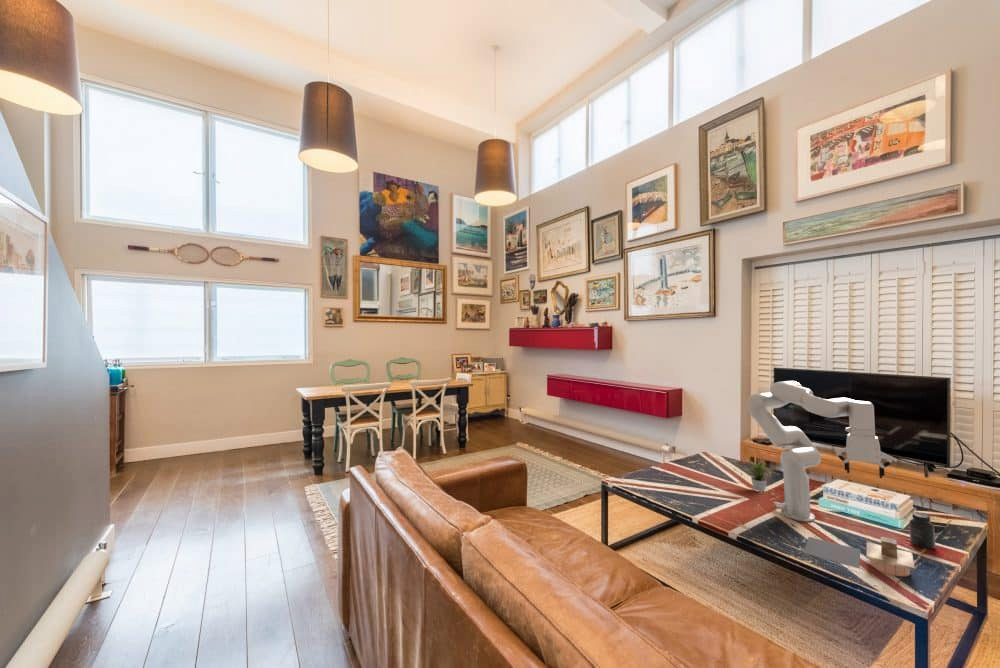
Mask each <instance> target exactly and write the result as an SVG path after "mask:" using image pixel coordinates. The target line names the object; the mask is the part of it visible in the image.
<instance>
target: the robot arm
mask: <svg viewBox="0 0 1000 668" xmlns="http://www.w3.org/2000/svg"><path fill="white" fill-rule="evenodd" d="M746 401H747V402H746V408H747V411H748V413H749V414H750V416H751V417H752V418H753V419H754V420H755V422H756V423H757V424H758V426H759V427H760V429H761V430H762V431H763V432H764V434H765V436H766V437H767V438H768V439H769V441H770V442H771V443H772V445H773V446H775V447H777V448H786V449H784V450H783V451H782V452H781V453H780V464H781V466H782V467H781V468H782V473H783V475H782V476H783V487H784V489H783V490H784V502H781V503H780V502H779V501H778V502H777V501H774V502H773V506H774V507H776V509H781V511H780V512H782V513H781V514H782V515H783V516H784V515H785V516H786V518H787V517H788V519H790V518H791V519H790V520H793V519H794V520H793V521H798V522H802V523H803V522H806V523H807V522H813V521H815V520H816V516H815V514H814V513H813V512H811V497H810V479H809V476H808V473H807V472H806V469H807V468H813V467H816V466H818V465H820V463H821V462H822V458H821V457H822V456H821V454H820V451H819V450H818V449H817V447H816V446H815V445H814V444H813V443H812V441H811V440H810V438H809V437H808V436H807V435H806V434H805V433H804V431H803V430H801V428H798V426H793V425H785V426H784V425H783V424H782V423H781V422H780V420H779V419H778V418H777V417H776V416H775V415H774V414H773V413H771V412H770V411H768V410H772V409H778V408H779V409H780V408H782V407H785V406H786V405H788V404H789V403H791V404H794V405H797V406H801V407H802V408H803V409H805V410H806V411H807V412H810V413H812V414H815V415H818V416H821V417H825V418H829V419H830V418H832V419H833V418H840V417H848V420H849V426H848V427H844V431H845V432H848V434H846V435H847V436H846V441H845V443H846V444H845V447H843V448H839V449H835V450H834V452H835V455H836V456H837V457H838V458H839V459H840V460H841V461H842V462H843V463H844V471H846V473H847V474H850V470H851V469H850V461H855V462H856V461H857V462H863V463H871V464H877V465H878V471H879V472H878V473H879V479H883V477H885V469H886V468H887V467H888V466H890V465H891V464H892V463H893V461H894V457H893V456H891V455H890V454H887V453H885V452H883V451H881V445H880V441H879V438H878V436H876V429H875V428H876V425H875V424H876V423H875V421H876V420H875V406H874V404H873V403H872V402H871V401H867V400H866V401H865V400H855V399H852V398H848V397H835V398H829V399H826V398H821V397H819V396H816V395H814V391H812V389H810V388H807V387H804V386H802V384H800V382H797V381H796V380H784V381H777V382H774V383H772V384H771V385H770V388H769V391H764V392H757V393H753V394H751V395H750V396H749V397H748V398H747V400H746ZM788 447H789V448H788ZM845 452H846V455H845V456H846V457H845V456H843V455H842V453H845ZM882 457H883V458H885V459H887V460H886V461H884V462H883V461H882ZM785 516H784V517H785Z"/></svg>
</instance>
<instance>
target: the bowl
mask: <svg viewBox="0 0 1000 668" xmlns="http://www.w3.org/2000/svg"><path fill="white" fill-rule="evenodd" d="M870 565H871V566H872V567H874V568H875V569H877V570H878V571H880V572H882V573H884V574H888V575H891V576H895V577H909V576H910V575H911V569H907V568H903V567H900V566H896V565H892V564H888V563H884V562H880V561H876V560H873V559H870Z"/></svg>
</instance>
